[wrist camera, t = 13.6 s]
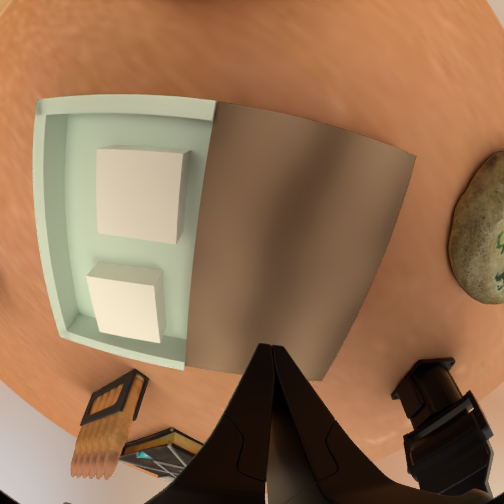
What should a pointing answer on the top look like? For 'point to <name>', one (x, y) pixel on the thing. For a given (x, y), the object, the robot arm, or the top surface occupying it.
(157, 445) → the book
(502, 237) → the weight
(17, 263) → the top surface
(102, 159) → the tile
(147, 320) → the tile
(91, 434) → the ammunition clip
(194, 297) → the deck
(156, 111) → the tray
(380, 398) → the top surface
